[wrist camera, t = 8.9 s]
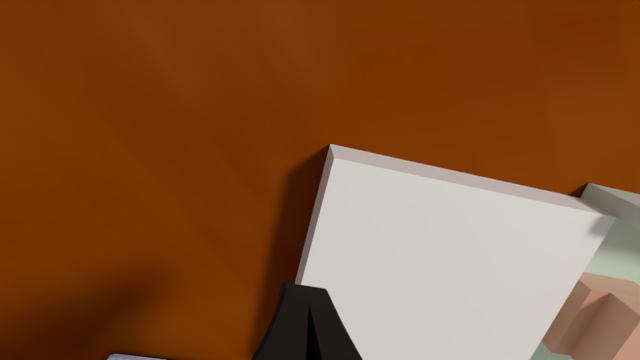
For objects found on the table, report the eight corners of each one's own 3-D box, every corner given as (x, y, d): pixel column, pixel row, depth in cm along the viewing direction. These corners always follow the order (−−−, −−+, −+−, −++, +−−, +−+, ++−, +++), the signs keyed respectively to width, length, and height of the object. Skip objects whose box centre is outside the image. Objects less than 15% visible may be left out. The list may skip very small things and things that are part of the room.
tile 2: (635, 364, 22) (666, 393, 20) (569, 354, 21) (595, 383, 19) (681, 304, 20) (719, 330, 18) (610, 292, 20) (642, 317, 18)
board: (486, 365, 25) (505, 398, 23) (280, 338, 23) (278, 371, 20) (579, 197, 20) (616, 217, 18) (329, 143, 18) (334, 157, 16)
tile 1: (594, 338, 24) (619, 362, 22) (531, 328, 23) (551, 352, 21) (633, 281, 22) (663, 302, 20) (566, 268, 21) (591, 290, 19)
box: (627, 394, 27) (680, 450, 23) (481, 375, 25) (512, 432, 21) (764, 222, 21) (861, 258, 18) (588, 182, 20) (655, 214, 16)
